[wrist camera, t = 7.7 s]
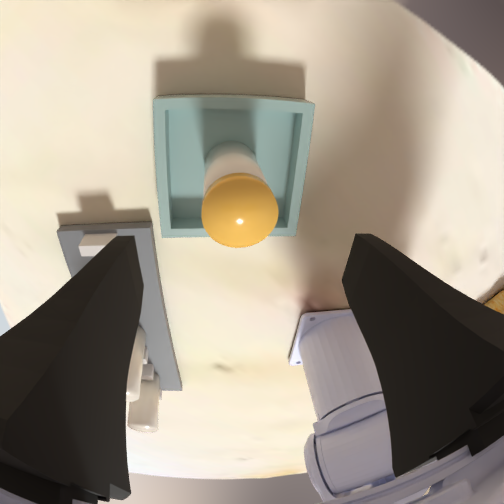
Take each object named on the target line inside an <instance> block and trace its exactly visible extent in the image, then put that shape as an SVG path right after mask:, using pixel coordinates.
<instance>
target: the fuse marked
mask: <svg viewBox="0 0 504 504" xmlns="http://www.w3.org/2000/svg"><path fill="white" fill-rule="evenodd" d="M201 215H202V223H203V227H204V229H205V231H206V232H207V234H208V235H209V236H210V237H211V238H212V239H213V240H215V241H216V242H218V243H220V244H222V245H225V246H228V247H235V248H241V247H248V246H251V245H254V244H257V243H259V242H260V241H262V240H263V239H265V238H266V237H267V236H268V235H269V234H270V233H271V232H272V230H273V229H274V227H275V225H276V223H277V220H278V205H277V201H276V199H275V197H274V195H273V192H272V190H271V188H270V187H269V186H268V184H267V182H266V179H265V177H264V175H263V173H262V170H261V168H260V166H259V164H258V161H257V159H256V157H255V155H254V153H253V151H252V150H251V149H250V148H249V147H248V146H247V145H245V144H243V143H241V142H237V141H226V142H222V143H220V144H218V145H216V146H215V147H213V148H212V149H211V150H210V152H209V153H208V155H207V157H206V160H205V169H204V192H203V200H202V213H201Z"/></svg>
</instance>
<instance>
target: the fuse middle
mask: <svg viewBox="0 0 504 504" xmlns="http://www.w3.org/2000/svg"><path fill="white" fill-rule="evenodd" d="M145 343H146V333H145V331H144V330H143V329H142V328H141V327H140V326H138V328H137V333H136V337H135V342H134V347H133V351H132V356H131V361H130V366H129V372H128V379H127V393H126V402H133V401H136V400H138V399H139V395H140V385H141V376H142V367H143V358H144V351H145Z"/></svg>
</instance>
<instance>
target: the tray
mask: <svg viewBox="0 0 504 504" xmlns="http://www.w3.org/2000/svg"><path fill="white" fill-rule="evenodd" d="M314 109H315V104H314V103H312V102H309V101H307V100H304V99H295V98H285V97H273V96H258V95H236V94H185V95H164V96H158V97H156V98H155V99H153V118H154V146H155V165H156V180H157V192H158V204H159V215H160V224H161V234H162V238H175V237H210V236H209V235H208V234H207V232H206V231H205V229H204V227H203V223H202V215H201V213H202V200H203V192H204V169H205V160H206V157H207V155H208V153H209V152H210V150H211V149H212V148H213V147H215V146H216V145H218V144H220V143H222V142H226V141H237V142H241V143H243V144H245V145H247V146H248V147H249V148H250V149H251V150H252V151H253V153H254V155H255V157H256V159H257V161H258V164H259V166H260V168H261V170H262V173H263V175H264V177H265V179H266V182H267V184H268V186H269V187H270V188H271V190H272V192H273V195H274V197H275V199H276V201H277V205H278V220H277V223H276V225H275V227H274V229H273V230H272V232H271V233H270V234H269V235H268V236H296V230H297V224H298V218H299V212H300V206H301V200H302V193H303V187H304V181H305V174H306V167H307V160H308V153H309V146H310V139H311V132H312V124H313V116H314Z"/></svg>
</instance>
